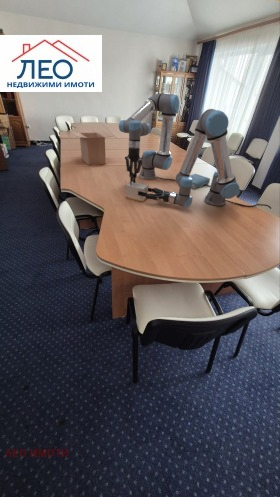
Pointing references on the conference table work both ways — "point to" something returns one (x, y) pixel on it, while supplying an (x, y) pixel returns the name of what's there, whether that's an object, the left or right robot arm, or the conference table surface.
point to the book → (199, 180)
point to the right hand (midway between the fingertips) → (141, 190)
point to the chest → (135, 193)
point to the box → (92, 146)
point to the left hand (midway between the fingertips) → (132, 181)
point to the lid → (136, 184)
